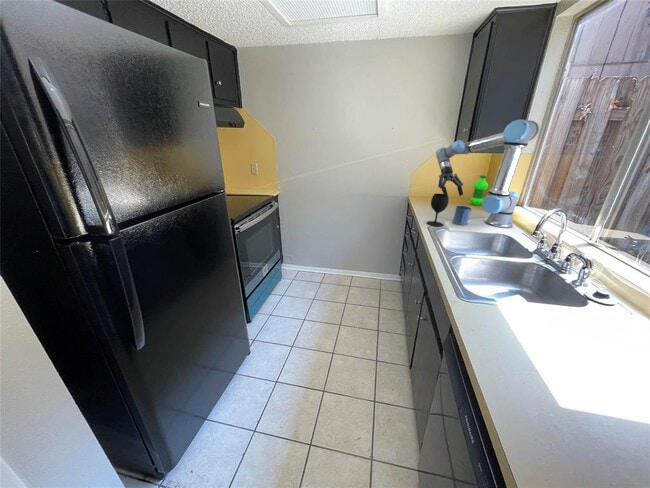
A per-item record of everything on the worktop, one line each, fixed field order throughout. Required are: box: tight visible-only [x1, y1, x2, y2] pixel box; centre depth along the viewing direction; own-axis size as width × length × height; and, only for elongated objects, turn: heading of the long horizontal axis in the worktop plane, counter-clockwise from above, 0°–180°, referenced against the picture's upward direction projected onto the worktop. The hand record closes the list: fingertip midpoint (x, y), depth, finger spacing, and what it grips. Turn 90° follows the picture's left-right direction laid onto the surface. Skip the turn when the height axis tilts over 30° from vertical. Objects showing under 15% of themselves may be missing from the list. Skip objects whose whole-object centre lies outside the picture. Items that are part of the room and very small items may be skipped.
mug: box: [452, 205, 472, 226], centre depth 174 cm, size 12×9×11 cm
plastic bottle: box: [469, 174, 489, 207], centre depth 220 cm, size 10×10×25 cm
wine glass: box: [426, 193, 450, 228], centre depth 170 cm, size 10×10×20 cm
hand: (453, 195), depth 182 cm, fingers open, 13 cm apart
